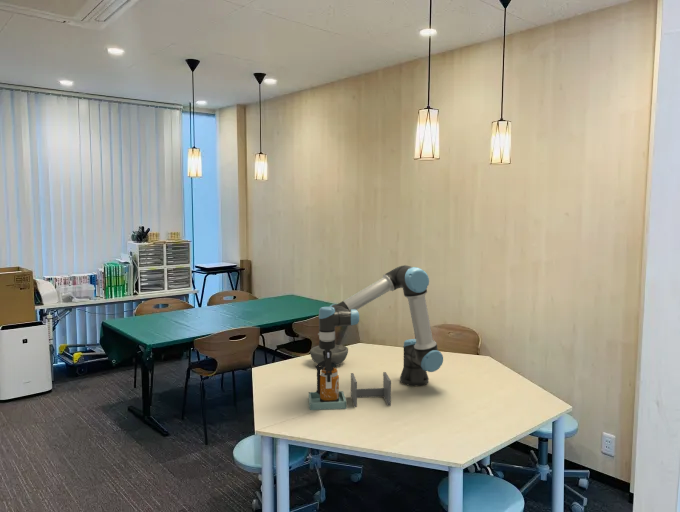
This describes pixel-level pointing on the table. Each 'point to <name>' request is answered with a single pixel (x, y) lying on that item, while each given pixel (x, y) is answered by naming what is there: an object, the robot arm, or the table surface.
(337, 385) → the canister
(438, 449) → the table surface
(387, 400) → the dock
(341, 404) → the tray
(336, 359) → the bowl
